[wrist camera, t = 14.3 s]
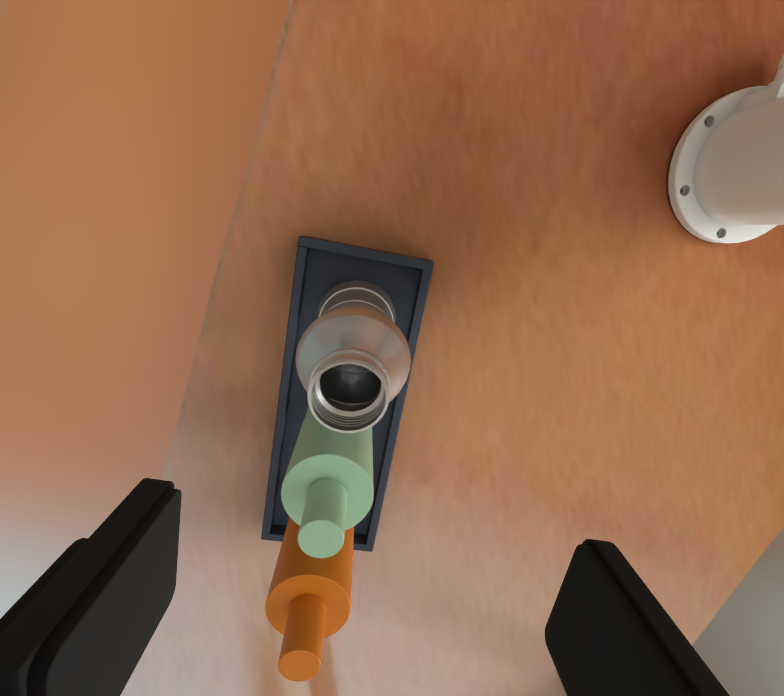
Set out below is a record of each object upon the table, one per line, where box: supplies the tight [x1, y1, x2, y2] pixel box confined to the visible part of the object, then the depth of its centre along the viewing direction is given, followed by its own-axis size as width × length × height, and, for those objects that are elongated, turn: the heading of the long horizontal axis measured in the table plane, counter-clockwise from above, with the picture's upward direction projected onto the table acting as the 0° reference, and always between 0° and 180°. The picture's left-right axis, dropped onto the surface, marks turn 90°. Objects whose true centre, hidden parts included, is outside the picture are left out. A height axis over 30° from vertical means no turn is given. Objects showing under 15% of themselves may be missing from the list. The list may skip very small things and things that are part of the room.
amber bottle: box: [266, 516, 354, 681], centre depth 34 cm, size 6×6×18 cm
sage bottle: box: [281, 406, 374, 558], centre depth 32 cm, size 6×6×18 cm
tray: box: [261, 236, 434, 552], centre depth 40 cm, size 31×12×2 cm, turn 169°
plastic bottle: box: [296, 280, 411, 433], centre depth 28 cm, size 6×7×20 cm
